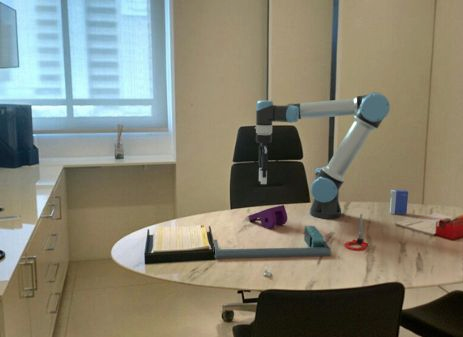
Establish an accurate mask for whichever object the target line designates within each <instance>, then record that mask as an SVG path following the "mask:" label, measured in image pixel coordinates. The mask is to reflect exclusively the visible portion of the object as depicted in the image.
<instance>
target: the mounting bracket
mask: <svg viewBox="0 0 463 337" xmlns="http://www.w3.org/2000/svg"><path fill="white" fill-rule="evenodd" d="M247 218H248V220H249V221H254V220H257V219H259V220H260V224H261V225H262V227H263V228H265V229H268V230H269V229H272V228H275V227H276V226H280V227H281V226H284V225H285V224H286V223H287V222H288V214H287V210H286V207H285V205H284V204H281V205H277V206H273V207H270V208H267V209H263V210H259V211H258V212H255V213H253V214H250V215H248V216H247Z"/></svg>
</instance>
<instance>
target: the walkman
mask: <svg viewBox="0 0 463 337" xmlns="http://www.w3.org/2000/svg"><path fill="white" fill-rule="evenodd" d="M408 199H409V191H408V190H406V189H401V190H400V189H391V190H390V200H389V201H390V202H389V214H390V215H407V212H408V210H407V209H408V201H409V200H408Z"/></svg>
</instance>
